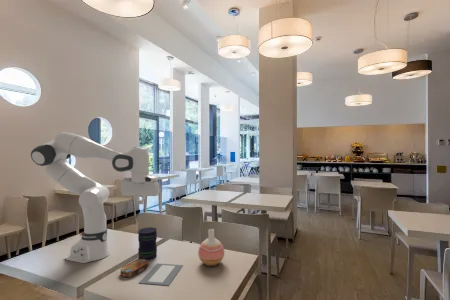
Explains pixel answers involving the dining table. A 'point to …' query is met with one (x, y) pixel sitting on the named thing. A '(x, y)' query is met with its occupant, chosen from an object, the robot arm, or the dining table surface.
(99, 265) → the dining table surface
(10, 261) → the dining table surface
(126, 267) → the tin
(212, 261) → the vase
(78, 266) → the dining table surface
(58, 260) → the dining table surface
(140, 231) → the blue oil drum
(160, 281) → the mat
